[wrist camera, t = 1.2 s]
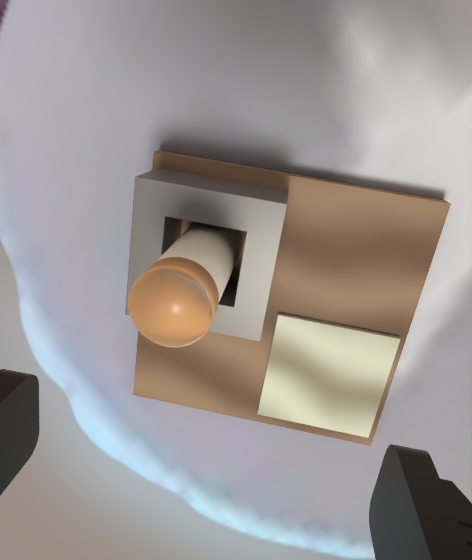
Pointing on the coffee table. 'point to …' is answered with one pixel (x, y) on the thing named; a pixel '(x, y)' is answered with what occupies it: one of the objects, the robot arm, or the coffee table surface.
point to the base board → (310, 309)
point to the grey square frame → (220, 212)
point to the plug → (185, 285)
